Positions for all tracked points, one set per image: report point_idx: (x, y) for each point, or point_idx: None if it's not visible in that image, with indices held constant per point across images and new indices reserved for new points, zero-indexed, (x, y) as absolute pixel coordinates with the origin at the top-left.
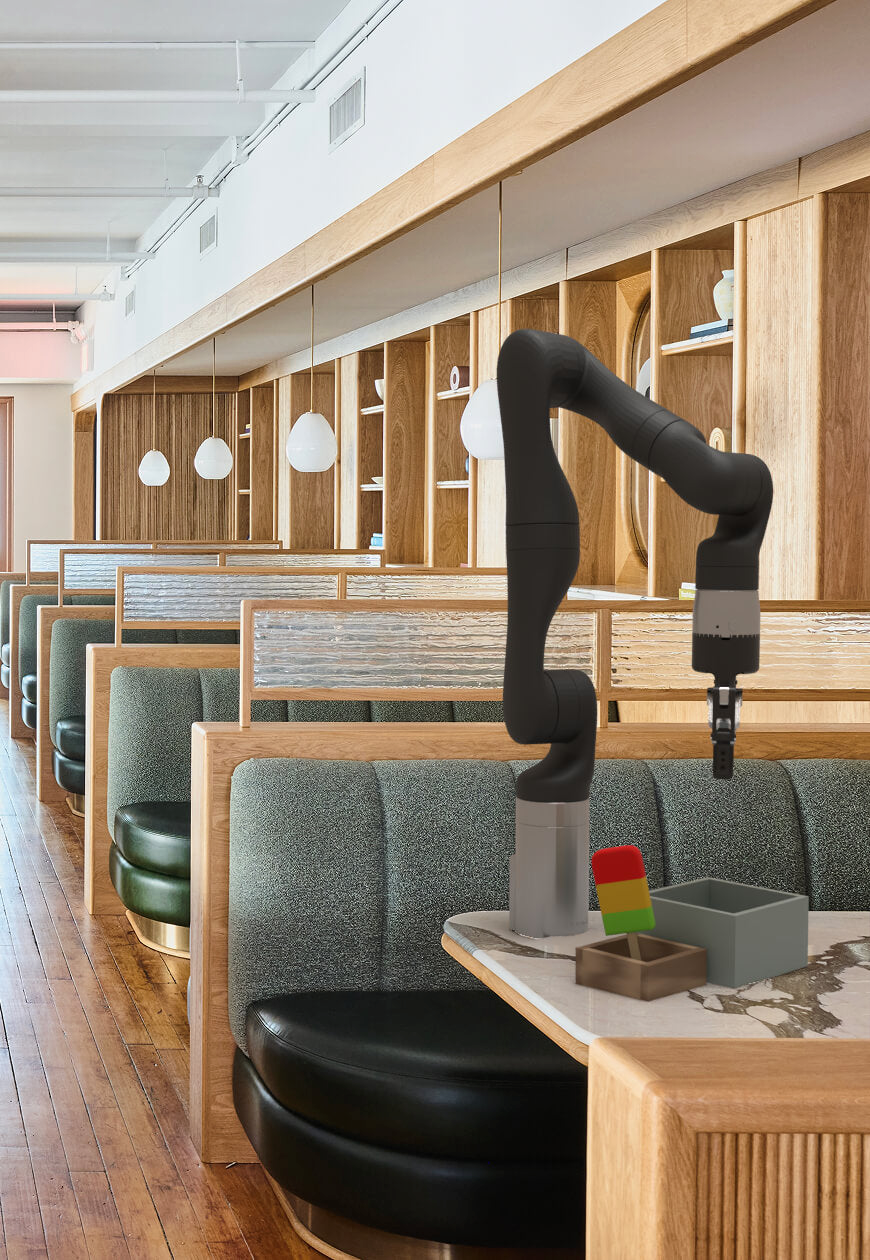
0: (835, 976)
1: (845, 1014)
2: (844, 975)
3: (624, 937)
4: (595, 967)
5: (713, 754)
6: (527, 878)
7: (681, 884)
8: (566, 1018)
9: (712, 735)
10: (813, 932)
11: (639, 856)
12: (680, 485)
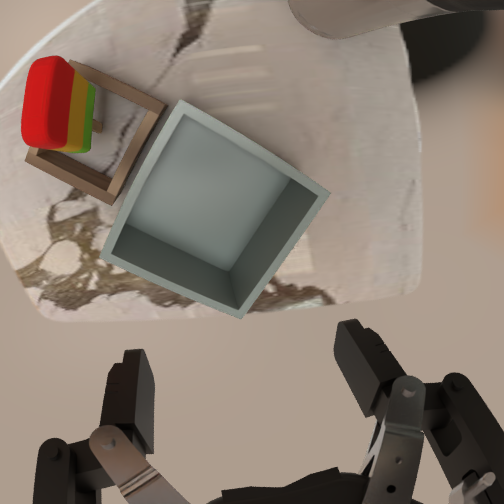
0: None
1: (91, 312)
2: (208, 306)
3: (133, 98)
4: None
5: (118, 399)
6: None
7: (273, 160)
8: None
9: (39, 453)
10: (357, 267)
11: (32, 146)
12: None
